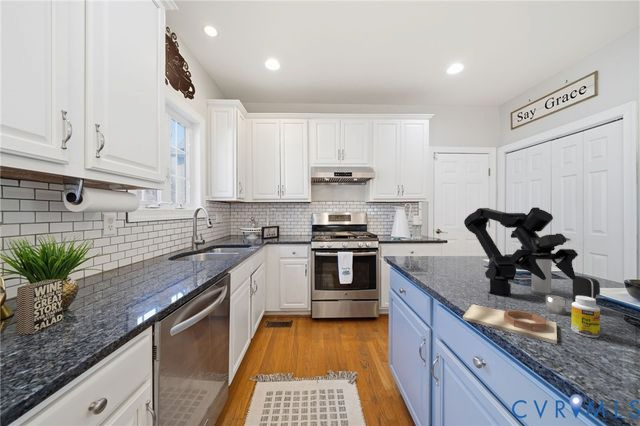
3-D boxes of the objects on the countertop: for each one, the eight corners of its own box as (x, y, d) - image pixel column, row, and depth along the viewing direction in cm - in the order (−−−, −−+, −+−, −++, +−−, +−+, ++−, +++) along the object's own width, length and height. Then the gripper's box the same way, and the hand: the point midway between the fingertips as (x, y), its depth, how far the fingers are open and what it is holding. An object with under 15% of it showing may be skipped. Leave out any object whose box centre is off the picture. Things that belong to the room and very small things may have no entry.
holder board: (462, 319, 80) (462, 310, 80) (472, 306, 90) (472, 298, 90) (556, 344, 65) (556, 332, 65) (556, 325, 75) (556, 315, 75)
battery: (602, 313, 84) (602, 279, 84) (589, 313, 84) (589, 279, 84) (583, 305, 91) (583, 274, 90) (571, 305, 91) (571, 274, 91)
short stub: (545, 312, 85) (545, 297, 85) (545, 307, 89) (545, 293, 89) (565, 316, 82) (566, 301, 82) (565, 311, 86) (565, 297, 86)
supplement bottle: (579, 337, 69) (579, 300, 69) (566, 327, 74) (566, 293, 74) (605, 340, 67) (606, 302, 67) (590, 330, 72) (590, 295, 72)
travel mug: (556, 295, 101) (556, 246, 101) (540, 295, 101) (540, 246, 101) (543, 290, 107) (543, 244, 107) (527, 290, 108) (527, 244, 107)
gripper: (516, 225, 83) (546, 265, 72) (572, 225, 83) (610, 265, 72) (499, 245, 91) (524, 284, 80) (550, 245, 91) (582, 284, 80)
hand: (559, 279), depth 78 cm, fingers open, 9 cm apart
